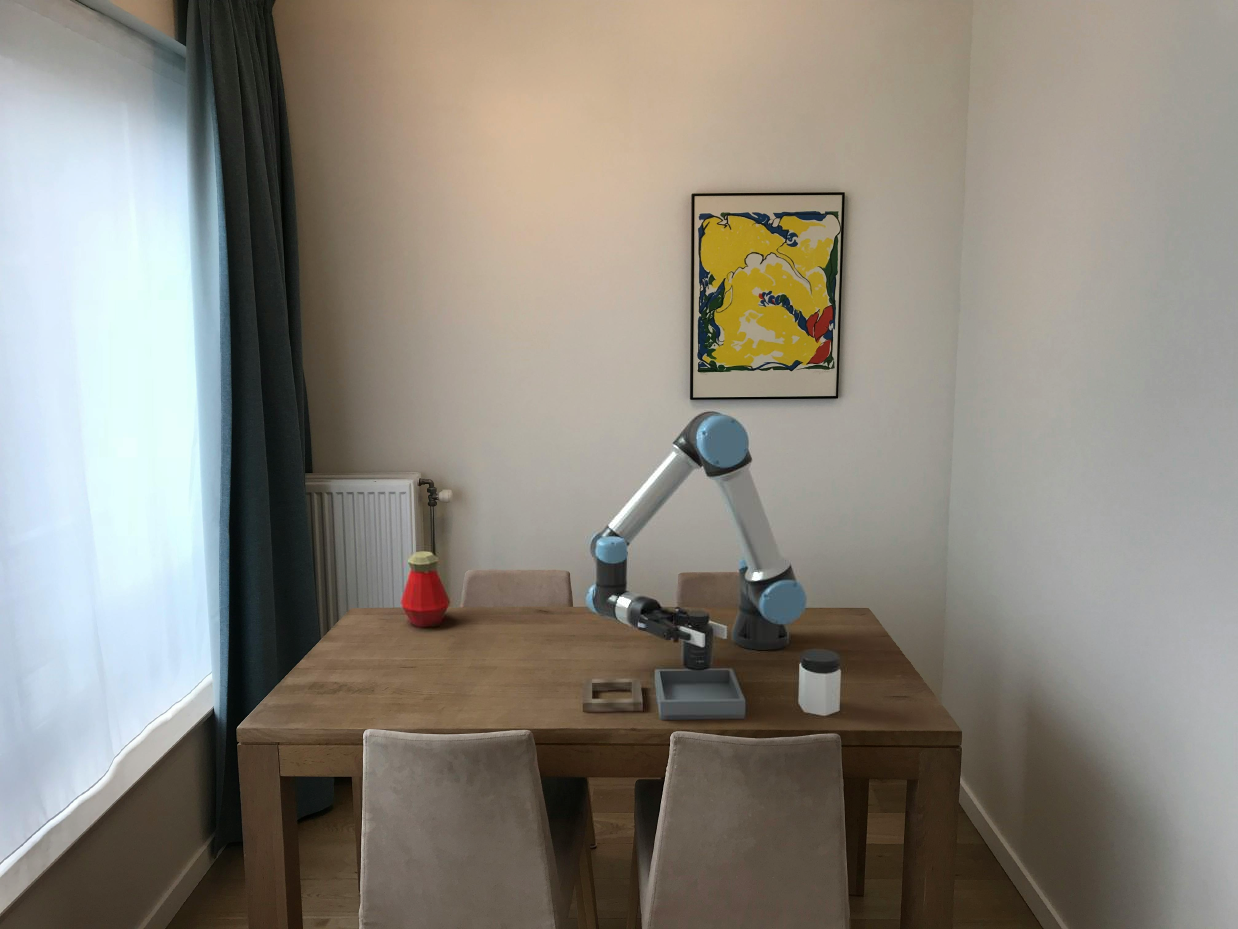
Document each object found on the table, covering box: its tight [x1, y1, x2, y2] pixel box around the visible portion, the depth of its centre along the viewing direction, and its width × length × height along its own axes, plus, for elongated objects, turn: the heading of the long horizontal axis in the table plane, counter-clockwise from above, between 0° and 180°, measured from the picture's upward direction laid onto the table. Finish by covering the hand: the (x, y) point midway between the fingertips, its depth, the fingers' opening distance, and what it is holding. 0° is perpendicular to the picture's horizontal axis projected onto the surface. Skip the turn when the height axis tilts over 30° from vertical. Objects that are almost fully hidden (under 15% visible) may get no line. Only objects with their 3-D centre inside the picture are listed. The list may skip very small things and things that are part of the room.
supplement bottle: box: [681, 609, 714, 671], centre depth 190 cm, size 7×7×12 cm
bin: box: [654, 667, 746, 721], centre depth 192 cm, size 18×18×4 cm
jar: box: [797, 648, 842, 717], centre depth 188 cm, size 9×8×12 cm
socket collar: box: [582, 678, 644, 713], centre depth 193 cm, size 13×13×2 cm
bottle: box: [400, 551, 451, 629], centre depth 244 cm, size 16×14×20 cm
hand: (714, 636), depth 186 cm, fingers closed on supplement bottle, 7 cm apart
